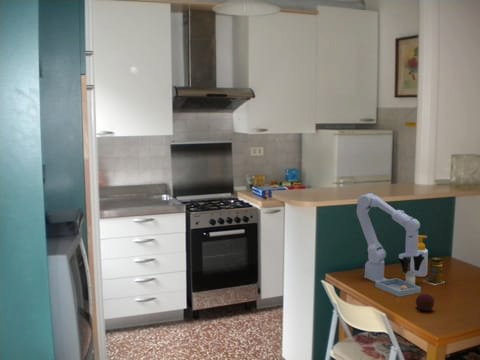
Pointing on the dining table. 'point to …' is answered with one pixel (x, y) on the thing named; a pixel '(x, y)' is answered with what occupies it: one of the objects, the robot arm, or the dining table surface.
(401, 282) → the tray
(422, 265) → the soap bottle
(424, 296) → the dark purple sphere
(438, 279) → the condiment
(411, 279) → the shaker
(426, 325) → the dining table surface
